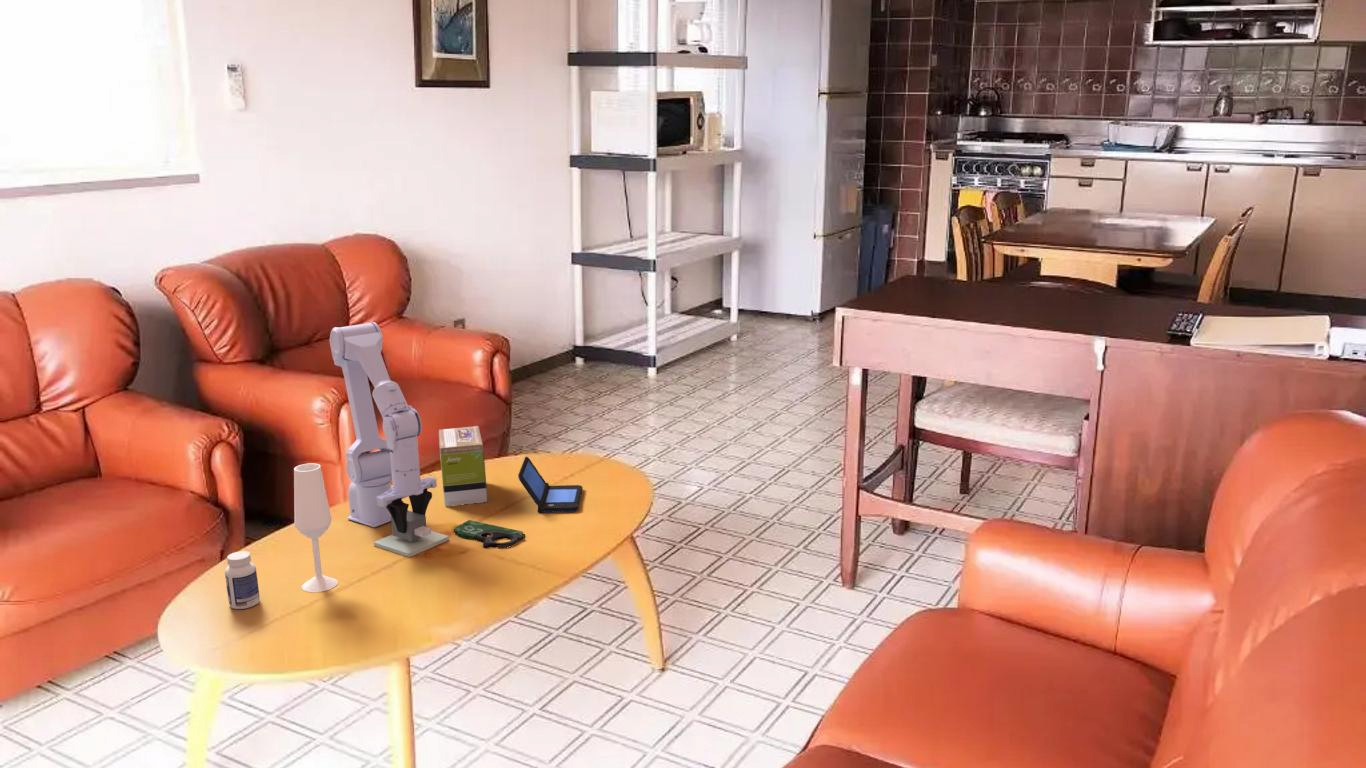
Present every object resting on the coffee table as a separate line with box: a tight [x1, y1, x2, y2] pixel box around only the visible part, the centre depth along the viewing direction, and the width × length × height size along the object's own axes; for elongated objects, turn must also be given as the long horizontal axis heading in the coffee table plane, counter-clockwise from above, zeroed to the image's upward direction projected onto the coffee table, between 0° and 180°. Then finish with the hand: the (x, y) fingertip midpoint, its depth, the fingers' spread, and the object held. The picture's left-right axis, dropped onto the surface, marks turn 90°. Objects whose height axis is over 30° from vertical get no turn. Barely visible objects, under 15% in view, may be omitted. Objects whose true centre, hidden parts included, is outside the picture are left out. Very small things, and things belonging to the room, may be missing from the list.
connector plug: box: [390, 510, 432, 541], centre depth 228 cm, size 8×4×4 cm, turn 55°
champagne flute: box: [293, 462, 339, 593], centre depth 207 cm, size 7×7×24 cm
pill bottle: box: [224, 550, 261, 610], centre depth 201 cm, size 5×5×10 cm
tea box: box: [438, 425, 488, 507], centre depth 256 cm, size 15×10×15 cm, turn 14°
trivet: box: [373, 530, 450, 558], centre depth 230 cm, size 11×11×1 cm
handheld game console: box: [517, 456, 583, 514], centre depth 252 cm, size 16×13×9 cm
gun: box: [453, 519, 526, 549], centre depth 232 cm, size 16×2×10 cm
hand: (410, 528), depth 229 cm, fingers closed on connector plug, 4 cm apart
